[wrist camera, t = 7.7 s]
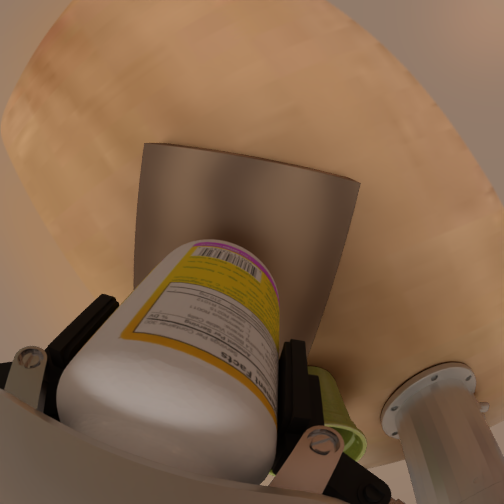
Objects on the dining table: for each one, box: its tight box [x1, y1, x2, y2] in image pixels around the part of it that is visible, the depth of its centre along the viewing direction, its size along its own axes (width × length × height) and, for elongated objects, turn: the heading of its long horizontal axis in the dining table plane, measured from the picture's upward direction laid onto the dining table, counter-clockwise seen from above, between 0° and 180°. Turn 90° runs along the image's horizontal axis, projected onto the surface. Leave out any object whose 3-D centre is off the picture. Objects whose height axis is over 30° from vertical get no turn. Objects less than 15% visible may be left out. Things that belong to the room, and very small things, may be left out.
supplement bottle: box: [56, 239, 280, 485], centre depth 10 cm, size 7×7×13 cm
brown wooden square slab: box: [134, 143, 361, 358], centre depth 22 cm, size 14×14×4 cm
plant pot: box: [269, 366, 367, 476], centre depth 24 cm, size 9×9×9 cm
